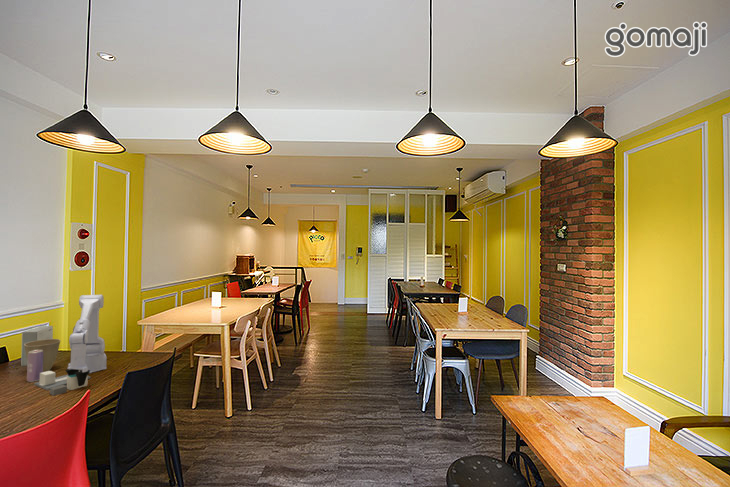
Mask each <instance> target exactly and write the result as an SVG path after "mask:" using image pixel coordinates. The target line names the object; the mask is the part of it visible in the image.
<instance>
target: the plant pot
mask: <svg viewBox="0 0 730 487" xmlns="http://www.w3.org/2000/svg"><path fill="white" fill-rule="evenodd" d="M60 343H61V339H58V338H53V339H44V340H37V341H32V342H28V343H26V344H24V347H25V353H26V357H27V360H28V352H29V351H33V350H43V372H46V371H51V370H52V368H53V365H54V363H55V362H56V357H57V355H58V352H59V350H60V349H59V348H60Z"/></svg>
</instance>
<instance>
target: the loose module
mask: <svg viewBox="0 0 730 487" xmlns="http://www.w3.org/2000/svg"><path fill="white" fill-rule="evenodd" d="M88 376H89V374H88V375H87V378H86V380H85V383H84V385H82V386H78V380H77V376H76V375H75V374H74V375H70V376H67V385H66V386H67V390H70V391H73V390H76V389H80V388H83V387H87V386H88V380H89V379H88Z"/></svg>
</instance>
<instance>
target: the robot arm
mask: <svg viewBox="0 0 730 487" xmlns="http://www.w3.org/2000/svg"><path fill="white" fill-rule="evenodd" d="M104 302H105V301H104V295H103V294H86V295H85V294H82V295H80V296H79V299H78V305H79V306H80V308H81V313H80V317H79V318H80V320H79V319H78V320H77V321H76V322H75V325H74V327H75V329H74V332H73V331H72V333H71V334H70V336H69V340H68V341H69V342H68V343H69V349H70V362H69V363H67V369H65V373H67V374H66V375H68V376H70V375H74V374H75V375H76V376H77V380H78V386H82V385H84V383H85V380H86V378H87V375H88V376H89V374H92V373H96V372H99V371H102V370H103V371H104V370H107V368H108V367H107V355H106V353H105V348H106V344H105V339H104V338H102V337H100V335H99V323H100V321H99V320H100V317H99V316H100V310H101V309H102V308H104ZM79 370H80V372H79Z"/></svg>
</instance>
